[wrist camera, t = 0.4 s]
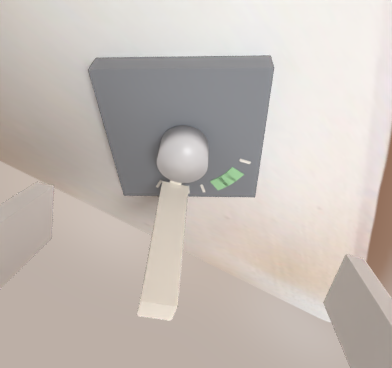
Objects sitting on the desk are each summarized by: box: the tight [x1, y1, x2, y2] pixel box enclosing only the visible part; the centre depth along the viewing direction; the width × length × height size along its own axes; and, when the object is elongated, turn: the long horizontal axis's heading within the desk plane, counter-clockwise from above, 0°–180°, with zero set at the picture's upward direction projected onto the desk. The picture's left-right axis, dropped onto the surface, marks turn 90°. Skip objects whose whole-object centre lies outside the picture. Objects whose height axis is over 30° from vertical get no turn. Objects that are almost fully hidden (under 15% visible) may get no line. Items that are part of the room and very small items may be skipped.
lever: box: [137, 126, 209, 321], centre depth 23 cm, size 8×4×12 cm, turn 167°
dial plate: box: [88, 56, 274, 197], centre depth 27 cm, size 13×13×2 cm
